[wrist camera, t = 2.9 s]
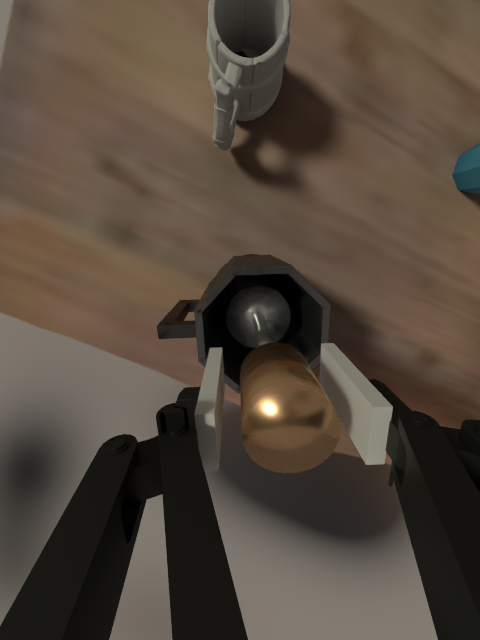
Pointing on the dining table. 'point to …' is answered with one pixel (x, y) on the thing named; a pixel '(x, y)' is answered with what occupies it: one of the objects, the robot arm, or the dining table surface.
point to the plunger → (278, 388)
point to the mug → (245, 60)
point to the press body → (212, 307)
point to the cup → (468, 171)
